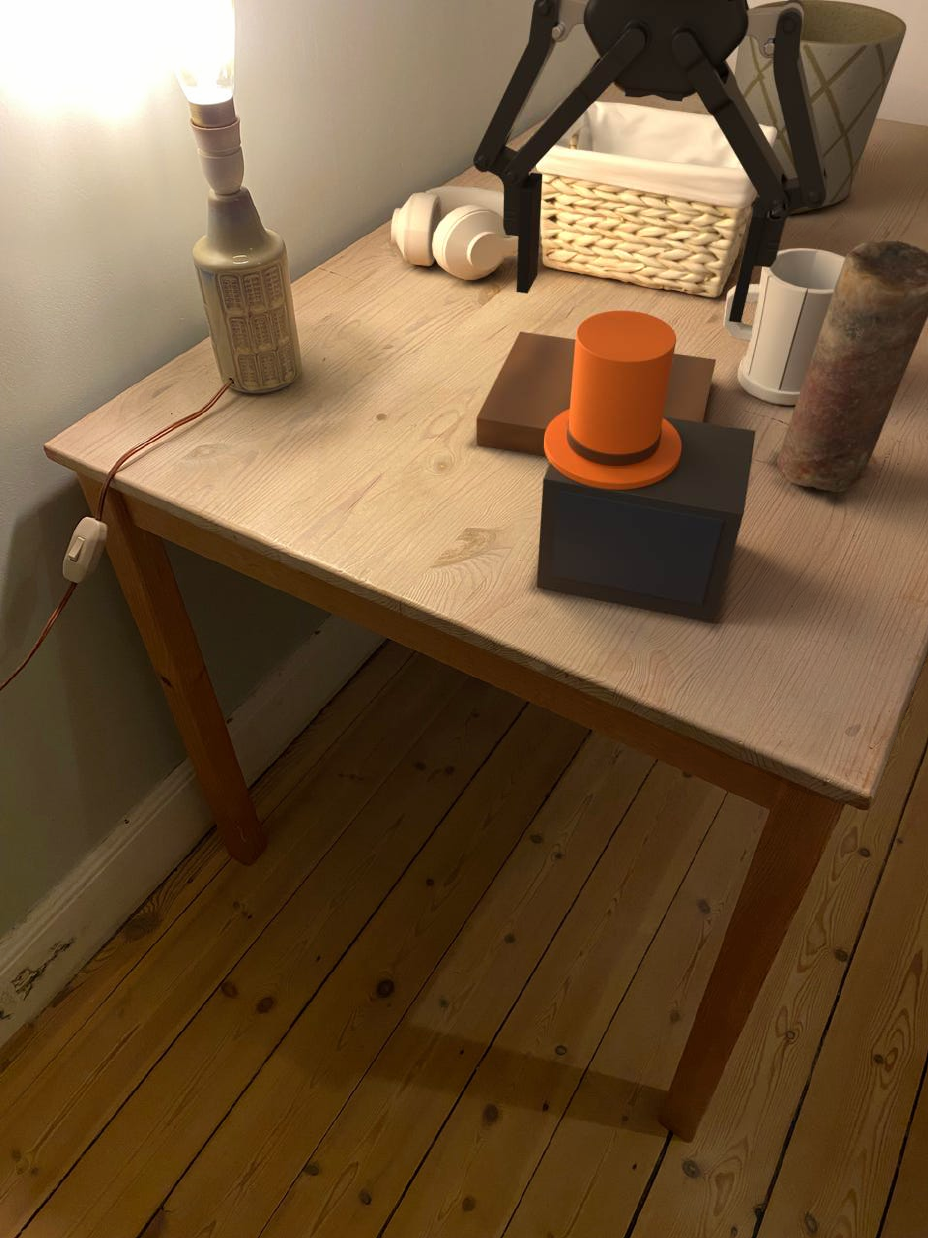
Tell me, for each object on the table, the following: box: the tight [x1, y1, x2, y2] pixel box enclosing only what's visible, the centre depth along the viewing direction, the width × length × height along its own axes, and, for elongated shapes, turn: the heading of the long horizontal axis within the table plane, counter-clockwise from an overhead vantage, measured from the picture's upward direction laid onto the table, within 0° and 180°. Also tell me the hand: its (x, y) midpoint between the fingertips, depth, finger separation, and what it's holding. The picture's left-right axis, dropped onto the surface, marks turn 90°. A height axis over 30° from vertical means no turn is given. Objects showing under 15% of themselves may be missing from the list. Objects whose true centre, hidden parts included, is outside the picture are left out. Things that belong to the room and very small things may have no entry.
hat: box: [544, 310, 682, 490], centre depth 64 cm, size 10×10×9 cm
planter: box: [734, 0, 907, 216], centre depth 117 cm, size 19×19×20 cm
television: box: [536, 416, 757, 624], centre depth 71 cm, size 14×10×11 cm
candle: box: [776, 240, 928, 493], centre depth 75 cm, size 8×7×20 cm
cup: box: [722, 247, 846, 407], centre depth 88 cm, size 10×9×12 cm
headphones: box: [390, 185, 543, 281], centre depth 111 cm, size 18×8×20 cm
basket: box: [535, 100, 777, 298], centre depth 105 cm, size 24×16×15 cm
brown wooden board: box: [475, 331, 717, 457], centre depth 88 cm, size 20×16×3 cm
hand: (629, 297), depth 59 cm, fingers open, 13 cm apart
